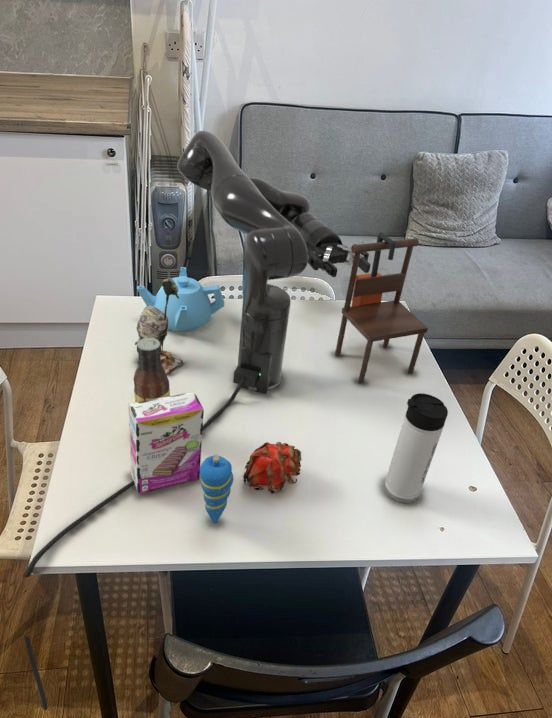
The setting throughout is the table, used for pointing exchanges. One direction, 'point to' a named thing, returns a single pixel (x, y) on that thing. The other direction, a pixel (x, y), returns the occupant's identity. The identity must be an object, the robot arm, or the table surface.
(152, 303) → the teapot
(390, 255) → the orange open padlock
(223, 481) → the ornament
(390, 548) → the table surface
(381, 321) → the chair
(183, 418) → the candy bar box
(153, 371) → the sauce bottle
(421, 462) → the travel mug
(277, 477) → the dragon fruit
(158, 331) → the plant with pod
